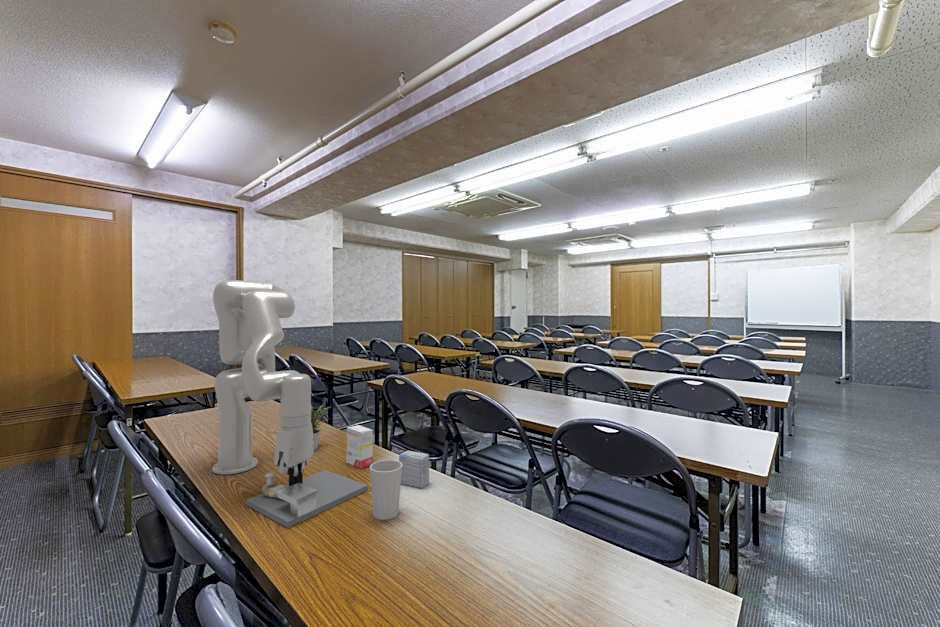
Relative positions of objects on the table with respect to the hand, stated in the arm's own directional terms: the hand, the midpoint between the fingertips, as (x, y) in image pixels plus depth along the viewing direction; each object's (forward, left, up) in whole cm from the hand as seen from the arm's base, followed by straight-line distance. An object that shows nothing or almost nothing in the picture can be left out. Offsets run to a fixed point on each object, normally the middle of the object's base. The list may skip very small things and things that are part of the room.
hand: (295, 488), depth 109 cm
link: (0, -3, -1) cm, 3 cm away
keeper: (+8, -5, -1) cm, 9 cm away
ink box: (-5, +26, -3) cm, 27 cm away
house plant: (-30, +26, -3) cm, 40 cm away
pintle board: (+3, +2, -3) cm, 4 cm away
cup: (+26, +8, -3) cm, 27 cm away
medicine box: (+20, +25, -3) cm, 32 cm away
